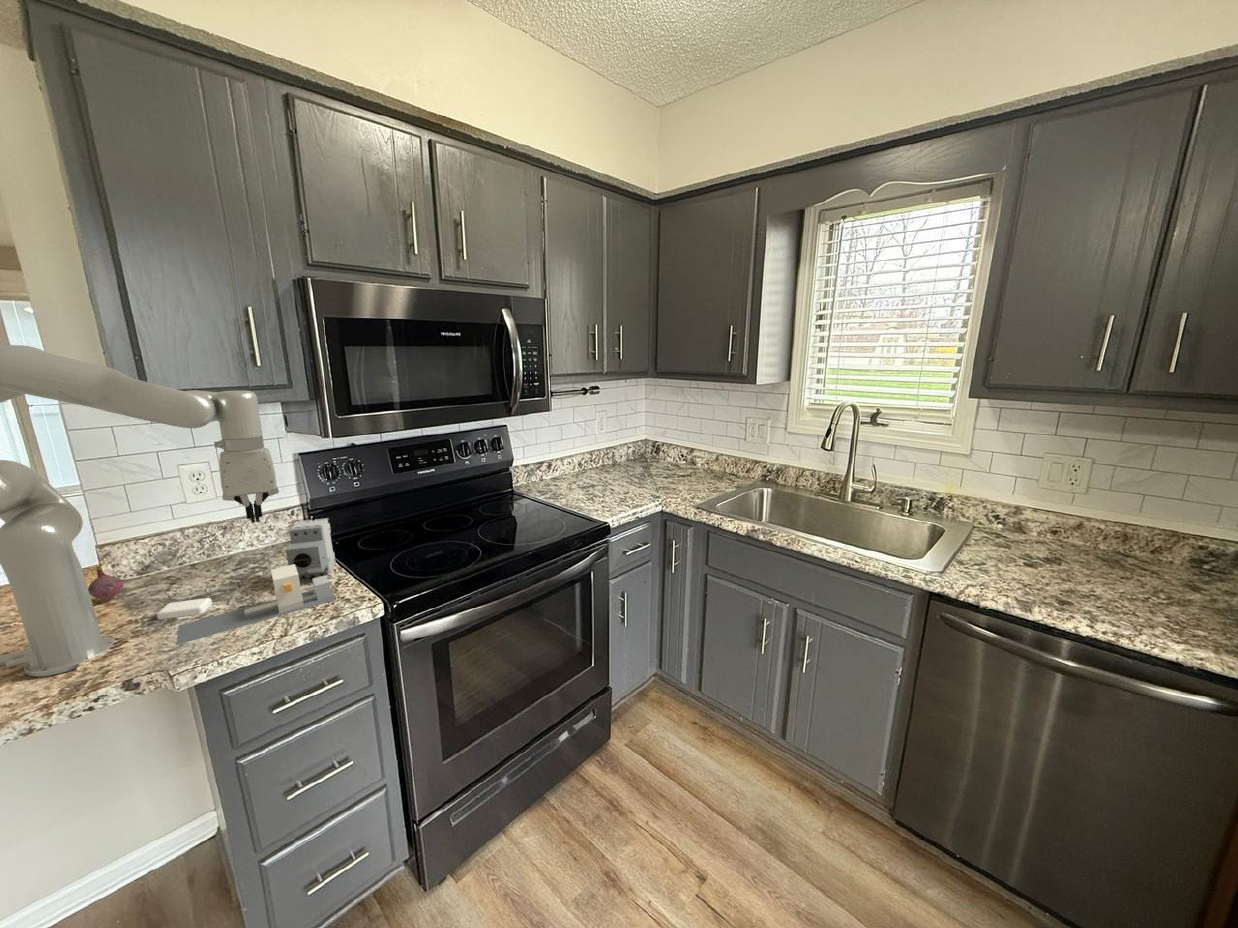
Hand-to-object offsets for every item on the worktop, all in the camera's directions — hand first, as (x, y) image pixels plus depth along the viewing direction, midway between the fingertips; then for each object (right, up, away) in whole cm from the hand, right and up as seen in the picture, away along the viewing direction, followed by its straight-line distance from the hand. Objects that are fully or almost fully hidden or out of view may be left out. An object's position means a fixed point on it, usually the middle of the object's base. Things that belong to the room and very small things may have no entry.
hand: (255, 520), depth 117 cm
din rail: (+4, -21, +3) cm, 22 cm away
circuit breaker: (+2, -19, +20) cm, 28 cm away
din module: (+5, -21, +4) cm, 22 cm away
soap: (-18, -23, +2) cm, 30 cm away
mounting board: (+1, -23, +1) cm, 23 cm away
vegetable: (-44, -22, +9) cm, 50 cm away
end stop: (+11, -20, +9) cm, 24 cm away
